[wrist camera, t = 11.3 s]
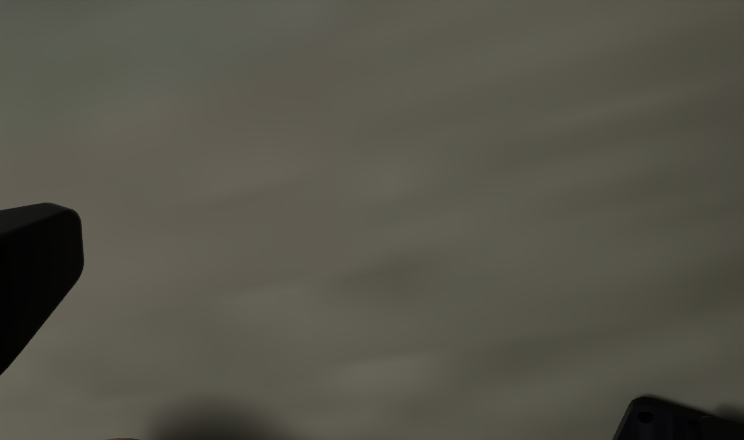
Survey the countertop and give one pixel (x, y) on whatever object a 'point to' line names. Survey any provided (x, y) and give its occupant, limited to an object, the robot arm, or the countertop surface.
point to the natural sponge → (123, 439)
